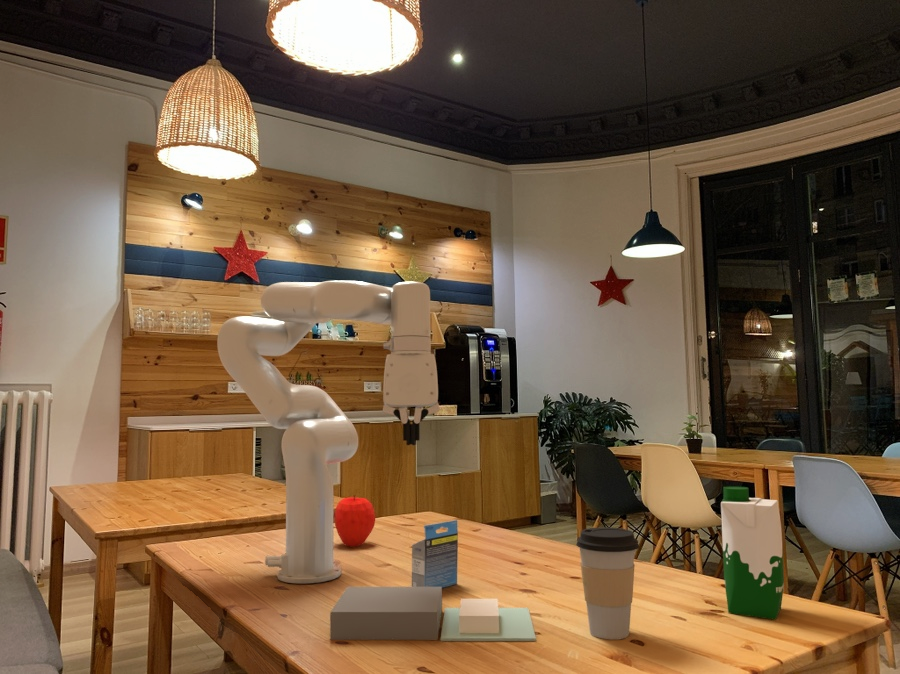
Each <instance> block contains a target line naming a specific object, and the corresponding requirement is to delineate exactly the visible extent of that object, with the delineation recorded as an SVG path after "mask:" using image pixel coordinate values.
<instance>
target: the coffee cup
mask: <svg viewBox="0 0 900 674" xmlns="http://www.w3.org/2000/svg"><path fill="white" fill-rule="evenodd" d="M575 545H576V547H577V548H579V554H580V570H581V579H582V586H583V587H582V588H583V594H584V601H585V604H586V610H587V618H588V619H587V620H588V625H589V626H588V627H589V632H590V635H592V636H593V637H595V638H599V639H603V640H604V639H605V640H623V639H626V638H627V637H629V635H630V627H631V626H630V625H631V610H632V603H633V595H634V582H635V581H634V580H635V566H636V565H635V562H634V561H635V551H636V550H638V549H639V548H640V545H639V540H638V539H637V538H635V534H634V532H633V531H632V530H629V529H625V528H621V527H620V528H618V527H609V526H608V527H605V526H604V527H589V528H585V529H582V530H581V531H580V536H578V537H577V538H576V543H575Z"/></svg>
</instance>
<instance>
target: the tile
mask: <svg viewBox="0 0 900 674" xmlns="http://www.w3.org/2000/svg"><path fill="white" fill-rule="evenodd" d="M459 608H460V612H459V633H499V611H498V608H499V599H498V598H460V606H459Z"/></svg>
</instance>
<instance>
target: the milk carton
mask: <svg viewBox="0 0 900 674" xmlns="http://www.w3.org/2000/svg"><path fill="white" fill-rule="evenodd" d="M722 491H723V499H721V500H722V501H721V502H720V513H721V538H722V539H721V540H722V554H723V555H722V559H723V579H724V588H725V596H726V604H727V612H728V614H734V615H740V616H747V617H753V618H760V619H768V620H774V621H775V620H776V619H777V617H778V615H779V613H780V611H781V609H782V603H783V597H784V596H783V593H784V587H785V574H784V573H785V572H784V569H785V568H784V554H783V553H784V552H783V534H782V531H783V530H782V523H781V516H780V508H779V500H777V499H765V498H763V499H762V498H761V497H750V493H749V487H746V486H738V485H737V486H735V485H734V486H732V485H730V486H723V490H722Z"/></svg>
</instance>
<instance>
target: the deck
mask: <svg viewBox="0 0 900 674" xmlns="http://www.w3.org/2000/svg"><path fill="white" fill-rule="evenodd" d="M442 590H443V588H442V587H412V586H347V587H346V588H345V590H344V591H343V593H342V594H341V596H340V597H339V599H338V600H337V602H336V603H335V604H334V606H333V607H332V609H331V611H330V616H329V618H330V620H329V622H330V623H329V625H330V627H329V628H330V632H329V635H330V638H329V639H330V641H331V640H332V641H334V640H336V641H338V640H339V641H340V640H342V641H344V640H345V641H346V640H347V641H349V640H350V641H351V640H352V641H354V640H355V641H356V640H357V641H361V640H362V641H363V640H364V641H368V640H370V641H374V640H377V641H380V640H381V641H382V640H383V641H386V640H387V641H389V640H392V641H401V640H402V641H427V640H428V641H430V640H431V641H438V638H439V634H440V633H439V631H440V626H441V619H442V614H443V594H442V593H443V591H442Z"/></svg>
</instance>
